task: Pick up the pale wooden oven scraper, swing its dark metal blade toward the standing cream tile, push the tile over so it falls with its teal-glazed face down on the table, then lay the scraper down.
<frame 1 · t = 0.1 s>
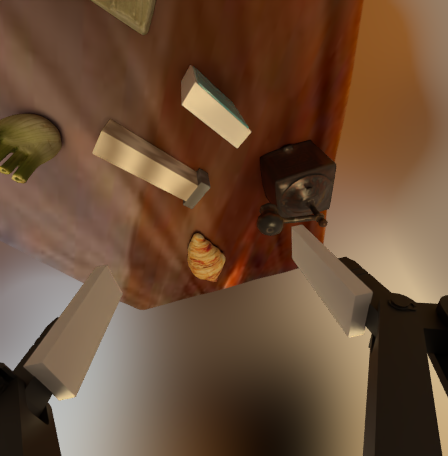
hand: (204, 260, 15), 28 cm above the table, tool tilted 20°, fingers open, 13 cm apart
pepper mill: (274, 172, 43), on the table
glazed tile: (208, 93, 31), on the table
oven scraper: (153, 157, 37), on the table
fennel bulb: (45, 128, 32), on the table
croissant: (206, 253, 59), on the table
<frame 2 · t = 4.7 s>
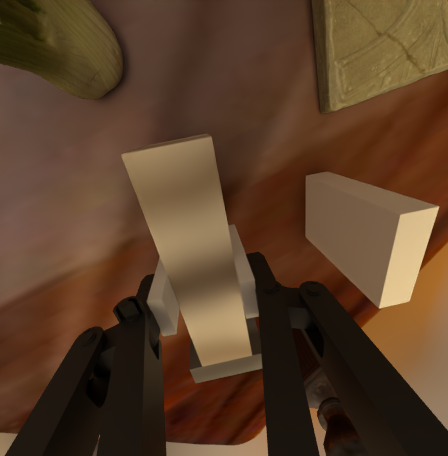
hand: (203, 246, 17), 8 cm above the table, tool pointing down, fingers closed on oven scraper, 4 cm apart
pepper mill: (294, 320, 34), on the table
glazed tile: (315, 206, 25), on the table
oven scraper: (203, 243, 17), point 7 cm above the table, touching gripper
fennel bulb: (99, 61, 17), on the table
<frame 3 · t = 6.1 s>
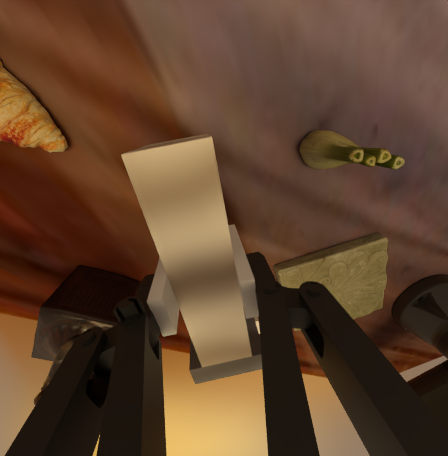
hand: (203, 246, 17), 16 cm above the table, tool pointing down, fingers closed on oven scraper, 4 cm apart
pepper mill: (109, 283, 36), on the table
decorative tile: (327, 282, 43), on the table
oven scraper: (203, 243, 17), point 15 cm above the table, touching gripper
fennel bulb: (313, 149, 30), on the table
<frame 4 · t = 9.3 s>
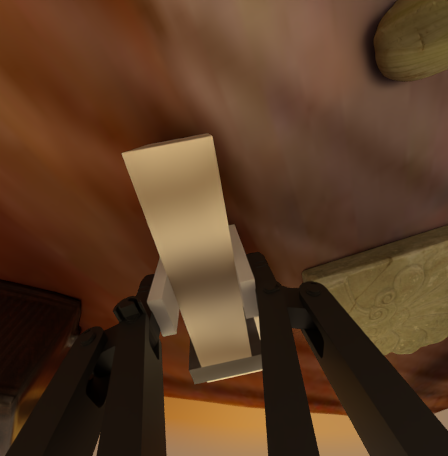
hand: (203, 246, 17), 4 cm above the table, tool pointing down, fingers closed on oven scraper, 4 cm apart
pepper mill: (30, 304, 22), on the table
decorative tile: (378, 295, 28), on the table
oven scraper: (203, 243, 17), point 3 cm above the table, touching gripper
fennel bulb: (394, 47, 15), on the table
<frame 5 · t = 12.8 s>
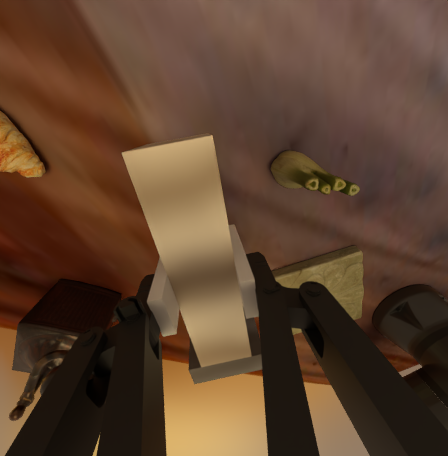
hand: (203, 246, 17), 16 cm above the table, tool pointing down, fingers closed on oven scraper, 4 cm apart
pepper mill: (91, 295, 37), on the table
decorative tile: (307, 292, 44), on the table
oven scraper: (203, 242, 17), point 15 cm above the table, touching gripper
fennel bulb: (285, 167, 31), on the table
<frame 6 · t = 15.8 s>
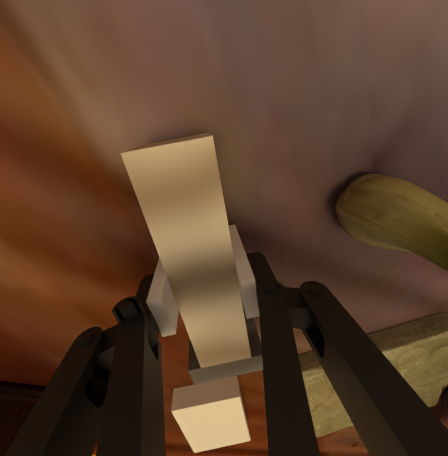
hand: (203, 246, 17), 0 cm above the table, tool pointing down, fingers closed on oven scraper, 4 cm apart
pepper mill: (28, 396, 23), on the table
decorative tile: (358, 370, 30), on the table
glazed tile: (205, 391, 25), point 1 cm above the table, tilted 90°
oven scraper: (203, 243, 17), on the table, touching gripper
fennel bulb: (356, 201, 17), on the table
when the fingers open (0 cm above the table, at t = 15.8 s): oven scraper stays where it is, on the table.
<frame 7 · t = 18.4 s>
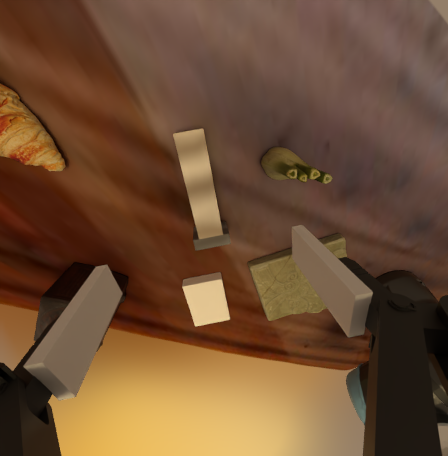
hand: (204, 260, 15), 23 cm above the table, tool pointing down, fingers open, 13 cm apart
pepper mill: (101, 278, 41), on the table
decorative tile: (297, 277, 48), on the table
glazed tile: (202, 278, 43), point 1 cm above the table, tilted 90°
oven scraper: (200, 182, 35), on the table
fennel bulb: (274, 162, 35), on the table
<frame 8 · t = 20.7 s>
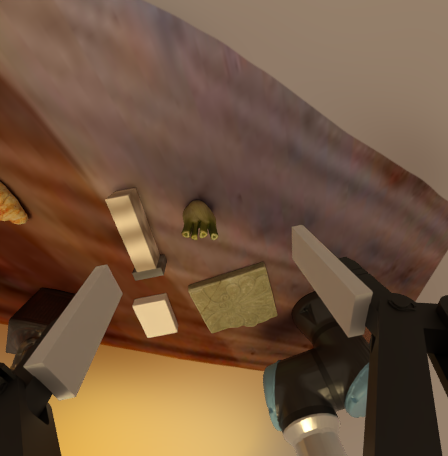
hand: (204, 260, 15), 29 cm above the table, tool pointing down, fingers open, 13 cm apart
pepper mill: (65, 299, 50), on the table
decorative tile: (235, 296, 56), on the table
glazed tile: (149, 299, 51), point 1 cm above the table, tilted 90°
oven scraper: (139, 225, 44), on the table
fennel bulb: (198, 209, 44), on the table
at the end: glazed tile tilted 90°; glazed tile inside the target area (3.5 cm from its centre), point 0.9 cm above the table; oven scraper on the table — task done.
